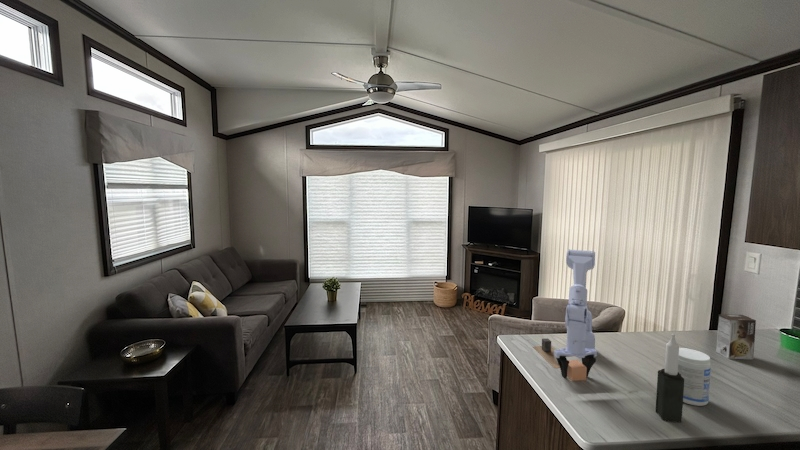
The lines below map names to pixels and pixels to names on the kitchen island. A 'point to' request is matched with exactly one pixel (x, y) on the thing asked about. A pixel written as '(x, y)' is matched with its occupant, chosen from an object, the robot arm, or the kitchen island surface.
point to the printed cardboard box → (736, 336)
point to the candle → (670, 386)
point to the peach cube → (576, 370)
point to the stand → (547, 352)
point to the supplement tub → (694, 376)
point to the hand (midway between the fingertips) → (574, 375)
